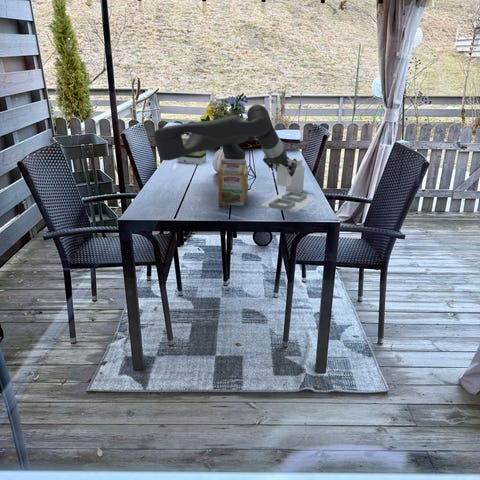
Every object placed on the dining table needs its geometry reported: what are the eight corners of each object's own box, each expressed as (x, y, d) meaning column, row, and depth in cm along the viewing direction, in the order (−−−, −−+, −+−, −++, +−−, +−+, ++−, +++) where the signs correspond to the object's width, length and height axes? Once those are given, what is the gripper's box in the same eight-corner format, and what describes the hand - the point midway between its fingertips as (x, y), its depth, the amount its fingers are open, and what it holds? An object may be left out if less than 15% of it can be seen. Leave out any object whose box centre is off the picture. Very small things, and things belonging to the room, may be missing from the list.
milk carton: (218, 207, 174) (218, 162, 167) (223, 199, 184) (223, 156, 176) (243, 208, 173) (244, 163, 165) (247, 200, 182) (248, 157, 175)
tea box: (176, 162, 246) (175, 137, 240) (183, 159, 254) (182, 134, 248) (200, 164, 242) (199, 139, 236) (206, 161, 250) (206, 136, 244)
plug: (286, 186, 166) (288, 161, 162) (275, 184, 168) (276, 159, 164) (291, 184, 169) (293, 159, 165) (280, 182, 172) (281, 157, 167)
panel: (295, 215, 166) (295, 208, 165) (259, 207, 174) (259, 201, 173) (315, 201, 182) (315, 195, 181) (282, 195, 190) (282, 189, 189)
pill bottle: (289, 193, 192) (291, 161, 186) (283, 189, 199) (285, 157, 193) (305, 192, 194) (308, 160, 188) (298, 187, 201) (301, 156, 195)
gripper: (252, 154, 157) (267, 178, 171) (287, 159, 150) (299, 184, 164) (260, 138, 159) (273, 163, 173) (294, 142, 152) (305, 168, 166)
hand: (286, 173), depth 168 cm, fingers closed on plug, 5 cm apart
